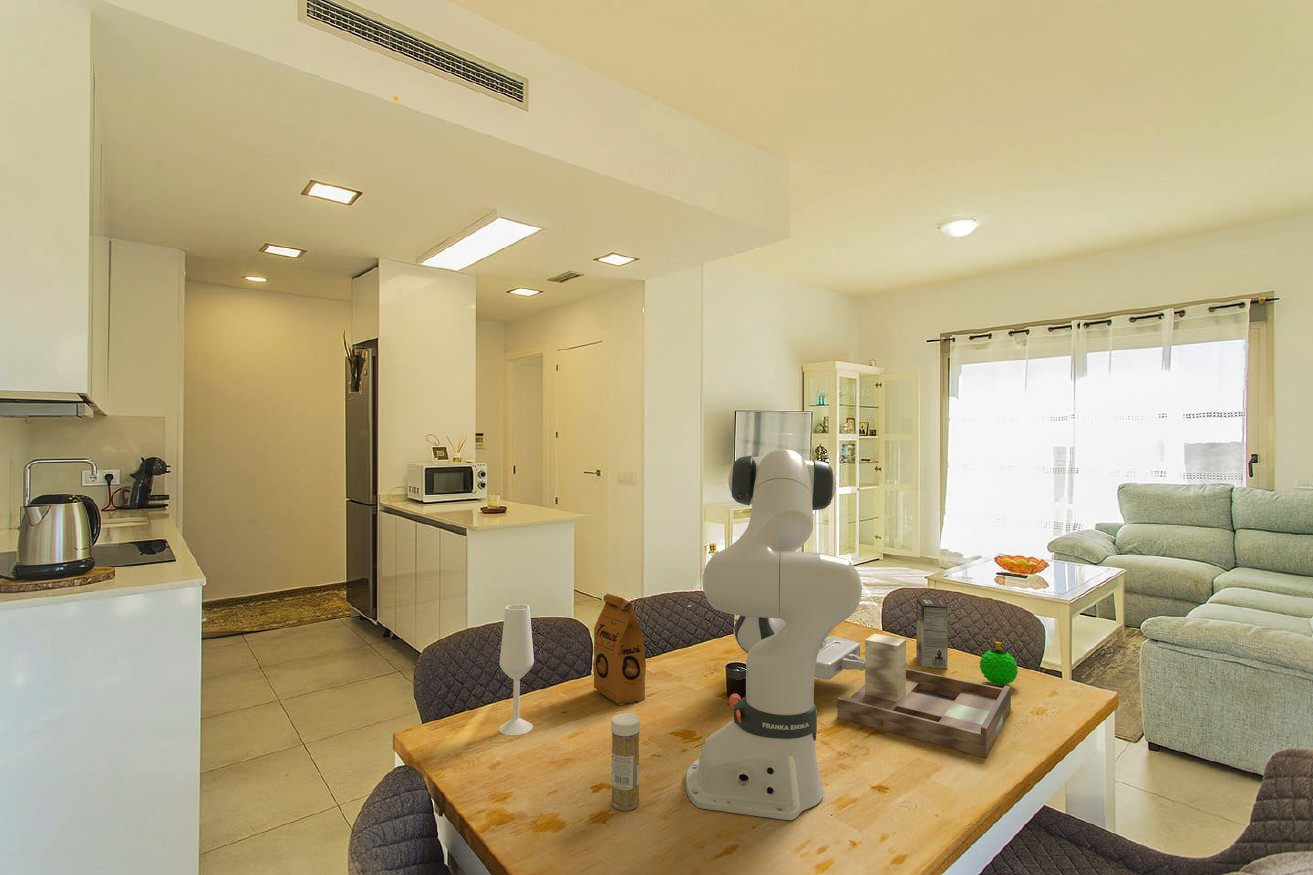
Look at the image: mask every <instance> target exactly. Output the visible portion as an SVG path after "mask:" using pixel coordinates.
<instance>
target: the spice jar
mask: <svg viewBox="0 0 1313 875" xmlns="http://www.w3.org/2000/svg"><path fill="white" fill-rule="evenodd" d="M610 724H611V725H610V727H611V729H610V731H611V735H612V736H611V739H612V740H611V741H612V742H611V801H610V803H611V806H612V807H613V808H614V809H615V810H618V811H622V812H623V811H624V812H625V811H627V812H628V811H632V810H634V809H636V808H637V807H639V804H640V788H639V787H640V731H641V719H640V717H639V716H638V715H636V714H634V713H630V712H629V713H619V714H616V715H614V716H613V717H612V718H611V723H610Z"/></svg>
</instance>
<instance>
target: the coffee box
mask: <svg viewBox="0 0 1313 875" xmlns="http://www.w3.org/2000/svg"><path fill="white" fill-rule="evenodd" d="M915 622H916V632H915V633H916V649H915V650H916V658H917V659H918V661H919V663H920V662H921V663H920V665H921V664H922V665H921V667H923V668H929V667H932V668H931V669H943V668H946V669H948V656H949V655H948V654H949V653H948V638H949V636H948V635H949V634H948V633H949V632H948V631H949V607H948V605H946V602H944V601H943V600H942V599H941V598H934V597H933V598H932V597H916V621H915ZM946 669H945V670H946Z"/></svg>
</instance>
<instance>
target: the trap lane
mask: <svg viewBox="0 0 1313 875" xmlns="http://www.w3.org/2000/svg"><path fill="white" fill-rule="evenodd" d="M1003 686H1004V687H1003V688H1002V687H997V686H994V685H993V686H992V685H988V684H984V683H983V684H982V683H977V682H974V681H969V680H963V679H960V678H959V679H958V678H956V677H954V678H953V677H951V676H945V675H940V674H935V673H931V672H926V671H920V670H915V669H912V668H907V667H906V694H905V695H904V696H903V697H902V698H901V699H900V700H899V701H898V702H894V701H890V700H886V699H882V698H878V697H874V696H870V695H865V684H864V685H863V686H862V687H861V688H859V689H858V690H857V691H855V693H853V694H852V695H851V696H850V697H849V698H843V697H840V696H839V697H837V700H836V701H837V713H836V714H837V716H836V717H837V718H838V719H841V720H845V721H849V722H852V723H855V724H859V725H862V726H867V727H871V728H874V729H878V730H882V731H885V732H888V733H893V734H897V735H899V736H904V737H907V738H910V739H915V740H919V741H923V742H925V743H926V742H927V743H929V744H933V745H937V746H940V747H944V748H949V749H952V750H955V751H960V752H964V753H967V754H970V755H974V756H977V757H982V758H987V757H988V754H989V753H990V751H991V748H992V746H993V745H994V743H995V742H996V741H995V740H996V738H997V737H998V734H999V733H1000V730H1001V729H1002V727H1003V725H1004V723H1005V721H1006V719H1007V717H1008V715H1009V713H1010V711H1011V708H1012V706H1011V705H1012V704H1011V703H1012V702H1011V701H1012V700H1011V699H1012V698H1011V696H1012V694H1011V693H1012V692H1011V691H1012V690H1011V686H1008V685H1003Z"/></svg>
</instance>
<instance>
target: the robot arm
mask: <svg viewBox="0 0 1313 875" xmlns="http://www.w3.org/2000/svg"><path fill="white" fill-rule="evenodd" d="M731 466H732V467H731V469H730V470H729V474H728V487H729V491H730V493H731V497H732V498H733V500H734V501H735V502H736V503H738V504H741V505H745V506H750V505H751V510H750V511H751V512H750V518H749V523H748V525H747V527H746V529H745V531H744V532H743V534H741V535H740V537H739V538H738V539H737V540H736V541H735V542H733V543H732V544H731V545H729V546H728V547H726V548H725V549H722V550H721V551H718V552H715V554H713V556H711V557H710V559H709V560H708V562H707V564H706V566H705V568H704V569H703V570H704V571H703V574H702V588H703V592H704V596H705V597H706V598H705V599H706V600H707V602H708V603H709V604H710V606H711V607H712V608H713V609H714V610H717V611H719V612H723V613H726V614H730V615H735V616H739V617H738V619H737V620H736V621H735V623H734V625H733V634H734V638H735V640H736V643H737V645H739V647H740V649H742V650H743V651H744V652H745V653H747V655H746V659H745V663H746V664H745V667H746V668H745V692H746V693H745V696H744V697H742V698H741V696H740V695H739V694H738V693H732V694H730V696H729V699H728V700H729V701H728V702H729V705H730V707H731V708H732V709H733V712H732V713H733V720H731V721H729V722H727V724H725V725H724V726H722V727H721V728H719V729H718V730H716V731H715V732H713V733H711V734H710V735H709V736H708V737H707V738H706V739H705V741H704V743H703V746H702V748H701V753H700V756H699V759H697V760H695V761H693V762H692V763H691V764H690V765H689V766H688V769H687V772H686V777H685V790H686V793H687V797H688V798H689V799H690V801H691V802H692V803H693V804H694V805H695V807H697V808H699V809H705V810H711V811H719V812H725V813H726V812H727V813H732V814H741V815H746V816H747V815H748V816H754V817H755V816H756V817H761V818H762V817H763V818H770V819H776V820H777V819H778V820H783V821H784V820H785V821H792V820H795V819H797V818H798V817H799V815H800V814H801V813H802V812H804V811H805V810H808V809H811V808H812V807H815V806H816V805H818V804H819V803H820V802H821V801H822V799H823V797H824V795H825V794H824V793H825V792H824V788H823V784H822V779H821V776H820V771H819V767H818V766H819V765H818V759H817V751H816V742H815V741H816V740H817V733H818V711H817V705H816V704H815V700H814V699H815V692H814V691H815V678H817V679H821V680H831V679H833V678H835V677H836V676H837V675H838V674H840V673H841V672H842V671H843V670H847V671H848V670H849V671H852V670H853V671H854V670H857V671H858V670H859V671H865V658H862V657H861V645H860V643H858V642H856V641H855V640H851V639H847V638H843V637H839V636H830V635H829V634H830V633H831V632H832V631H833V630H834V629H835V628H836V627H837V626H839V625H840V624H841V623H842V622H843V621H845V620H848V618H850V617H851V616H852V615H854V613H855V612H856V610H857V608H858V607H859V605H860V602H861V598H862V595H863V594H862V593H863V592H862V591H863V590H862V589H863V588H862V580H861V577H860V574H859V573H858V570H857V568H855V566H854V564H852V562H851V561H850V560H849V559H847V558H844V557H840V556H835V555H831V554H827V553H822V552H809V551H808V552H806V551H797V550H798V549H800V548H802V546H803V545H804V544H805V543H806V542H807V541H808V539H809V538H810V537H811V535H812V532H813V529H814V518H813V517H814V516H813V515H814V514H813V513H814V512H813V511H819V510H824V509H825V510H826V509H827V507H829V506H830V505H831V504H832V500H833V499H834V497H835V493H836V489H837V482H836V477H835V474H834V472H833V468H832V467H831V465H829V463H827V462H824V461H821V460H817V459H813V460H809V459H804V458H803V456H801V455H800V454H799V453H797V451H796V452H795V451H794V450H791V449H785V448H782V449H781V448H780V449H775V450H773V451H770V452H769V453H766V455H764V456H761V455H760V456H753V455H746V456H745V455H744V456H741V457H738V458H737V459H736V460H735V461H734V462H733V465H731Z"/></svg>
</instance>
